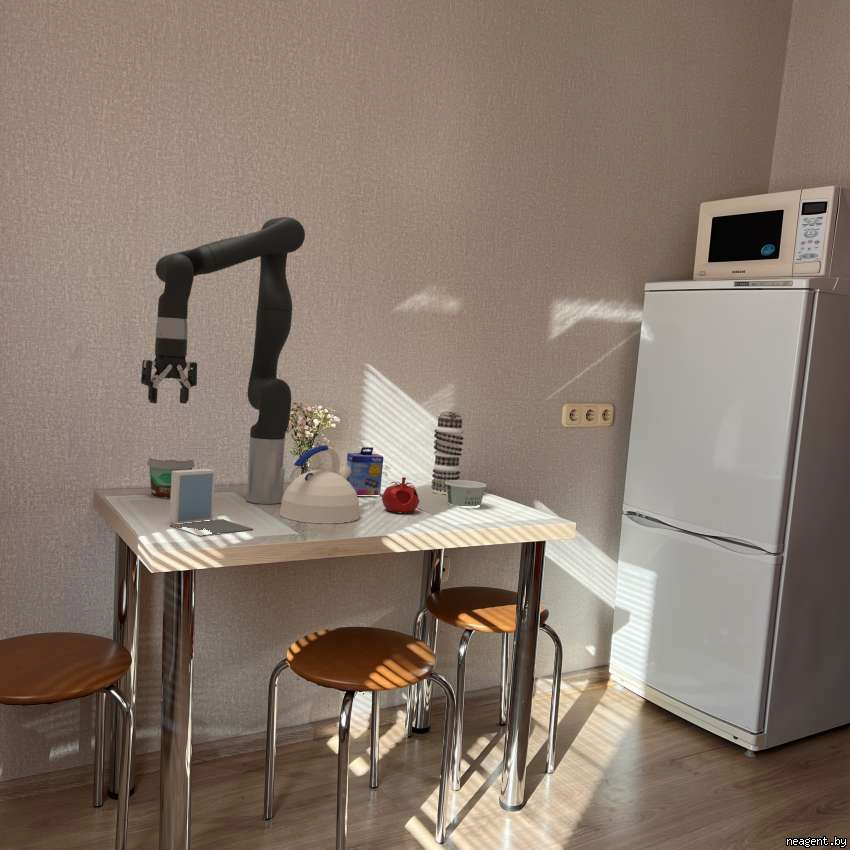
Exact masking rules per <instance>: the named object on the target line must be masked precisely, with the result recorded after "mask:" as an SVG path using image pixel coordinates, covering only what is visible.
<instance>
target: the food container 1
mask: <svg viewBox="0 0 850 850" xmlns="http://www.w3.org/2000/svg"><path fill="white" fill-rule="evenodd" d="M146 463H147V464H146V466H147V467H149V477H150V478H149V479H150V495H151V496H152V495H153V496H152V497H154V496H156V498H159V497H167V498H166V499H170V497H171V477H172V471H179V470H193V468H195V461H194V459H193V458H192V459H188V460H177V459H176V460H175V459H167V460H165V459H164V460H163V459H154V458H151V457H148V460H147V462H146Z"/></svg>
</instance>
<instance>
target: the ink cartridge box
mask: <svg viewBox="0 0 850 850" xmlns="http://www.w3.org/2000/svg"><path fill="white" fill-rule="evenodd" d="M364 450H365V451H364ZM368 450H369V451H368ZM373 452H374V447H372V446H370V447H369V446H365V447H364V446H363V447H361V449H360V452H347V455H346V465H347V466H349V467H350V468H351V474H349V476H348V477H347V479H346V480H347V481H348V482H349V483H350V484H351V485H352V487H353V488H354V490H355V491H356V494H357V495H380V496H381V491H382V490H381V489H382V478H383V477H382V476H383V467H384V456H383V455H381V454H378V453H373Z"/></svg>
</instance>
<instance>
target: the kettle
mask: <svg viewBox="0 0 850 850" xmlns="http://www.w3.org/2000/svg"><path fill="white" fill-rule="evenodd" d="M325 451H327V452H328V453H329V456H330V458H331V468H330V470H327V469H326V470H325V469H314V470H310V471H307V472H303V473H302V474H301V475H299V476H297V477H296V478H294V479H293V480H292V482H290V484H288V486H287V487H286V489H285V491H284V492H283V497H282V503H280V508H279V509H280V510H279V514H280V516H281V517H283V518H284V519H288V520H290V521H294V522H301V523H307V524H318V523H321V524H322V525H323V524H324V525H326V524H327V525H328V524H329V525H334V524H333V523H339V524H345V523H344V522H349V523H352V522H351V521H353V522H355V521H354V520H356V521H358V520H359V519H360V518H359V517H361V515H360V500H359V497H357V494H356V491H355V490H354V488H353V487H352V485H351V484H350V483H349V482H348V481H347V480H346V479H347V477H348V476H349V474H351V468H350V467H349V466H347V464H344V463H343V464H341V461H340V460H341V459H340V456H339V453H338V452H337V450H336V449H335V448H334V447H332V446H330V445H329V446H328V445H326V444H324V445H319V446H316V447H313V448H311V449H309V450H307V451H305V452H304V453H303V454H302V455H301V456H299V458H297V460H296V461H295V462H294V463H293V465H294V466H296V467H299V468H300V467H302V466H303V465H304V464H305V463H306V461H307V460H309V458H311V457H312V456H314V455H316V454H317V453H320V452H325ZM358 518H359V519H358ZM357 519H358V520H357ZM321 524H320V525H321Z"/></svg>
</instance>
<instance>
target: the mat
mask: <svg viewBox="0 0 850 850" xmlns="http://www.w3.org/2000/svg"><path fill="white" fill-rule="evenodd" d="M169 526H170V527H171V526H174V527H177V528H182V527H187V528H194V529H195V528H196V529H198V530H203V529H204V528H205V529H206V530H208V531H209V530H210V532H212V534H217V533H226V534H231V533H230V532H234V533H241V532H248V531H249V530H250V531H254V529H253V528H252V527H248V526H246V525H242V524H239V523H235V522H232V521H230V520H226V519H224V518H221V519H220V518H219V519H213V520H210V521H201V522H192V523H183V524H170V525H169ZM174 527H173V528H174ZM177 528H176V529H177ZM205 529H204V530H205Z"/></svg>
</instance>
